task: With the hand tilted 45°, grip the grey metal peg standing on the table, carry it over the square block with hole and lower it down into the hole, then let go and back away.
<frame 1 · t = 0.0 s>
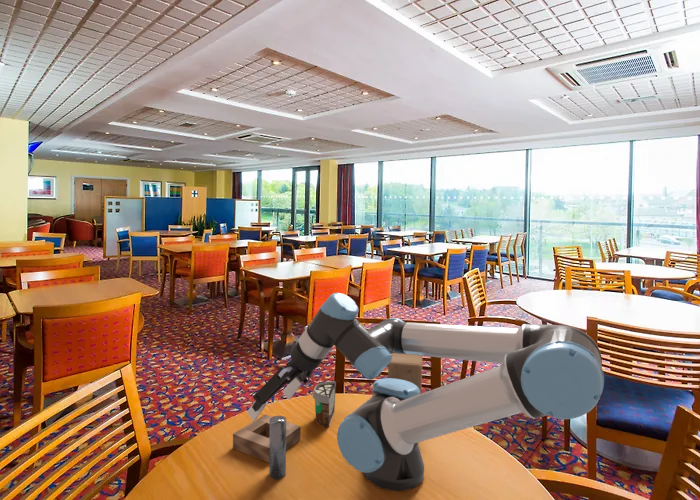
hand: (269, 405, 107), 15 cm above the table, tool tilted 35°, fingers open, 13 cm apart
peg: (277, 474, 104), on the table
wooden block: (403, 420, 132), on the table
food container: (322, 419, 132), on the table
square block with hole: (267, 443, 117), on the table
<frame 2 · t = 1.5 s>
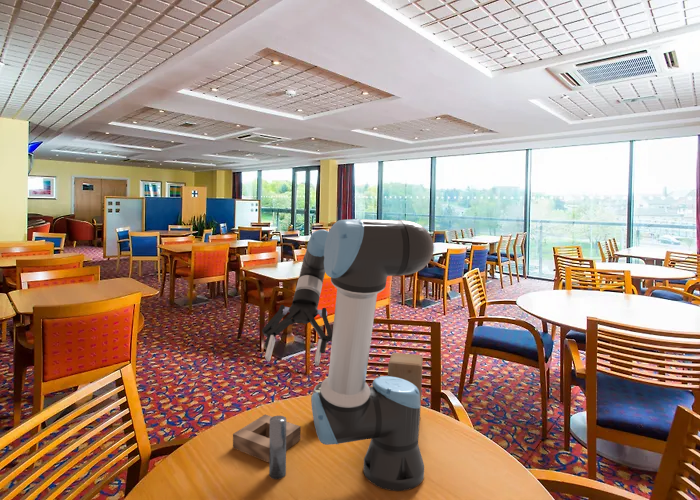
hand: (291, 361, 112), 25 cm above the table, tool tilted 45°, fingers open, 13 cm apart
nothing on the table moved.
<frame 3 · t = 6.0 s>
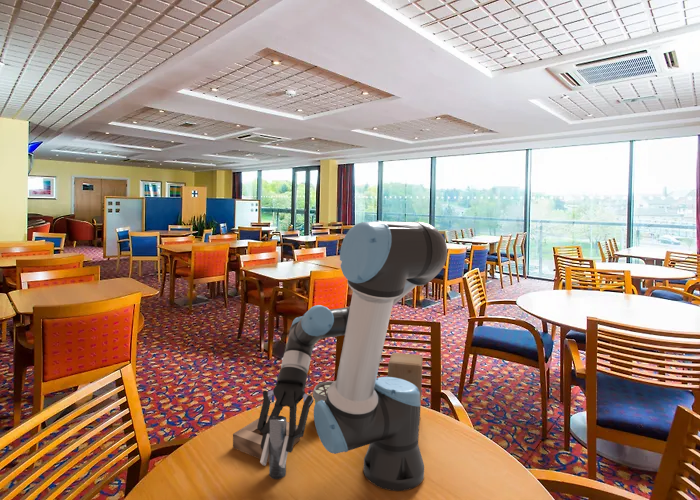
hand: (272, 464, 99), 5 cm above the table, tool tilted 45°, fingers closed on peg, 4 cm apart
peg: (277, 474, 104), on the table, touching gripper
everything else where it was.
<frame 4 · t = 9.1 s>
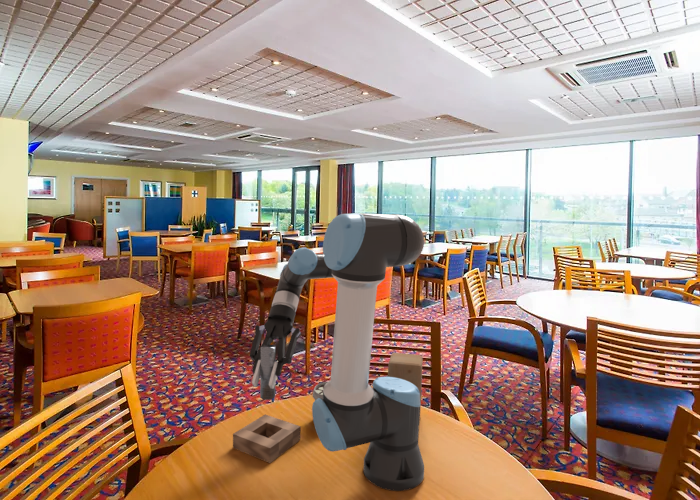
hand: (262, 385, 111), 18 cm above the table, tool tilted 45°, fingers closed on peg, 4 cm apart
peg: (267, 396, 115), point 14 cm above the table, touching gripper
everything else where it was.
when the fingers open (7 cm above the table, at t = 12.1 s): peg drops 2 cm, resting in square block with hole.
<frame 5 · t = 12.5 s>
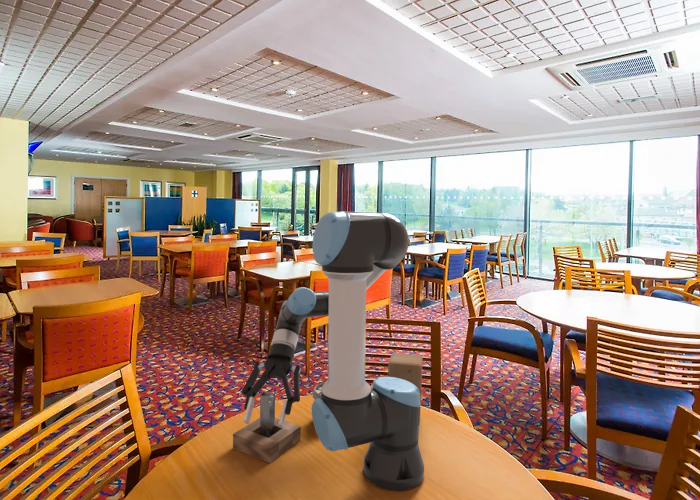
hand: (263, 424, 113), 7 cm above the table, tool tilted 45°, fingers open, 9 cm apart
peg: (267, 443, 117), resting in square block with hole
everything else where it was.
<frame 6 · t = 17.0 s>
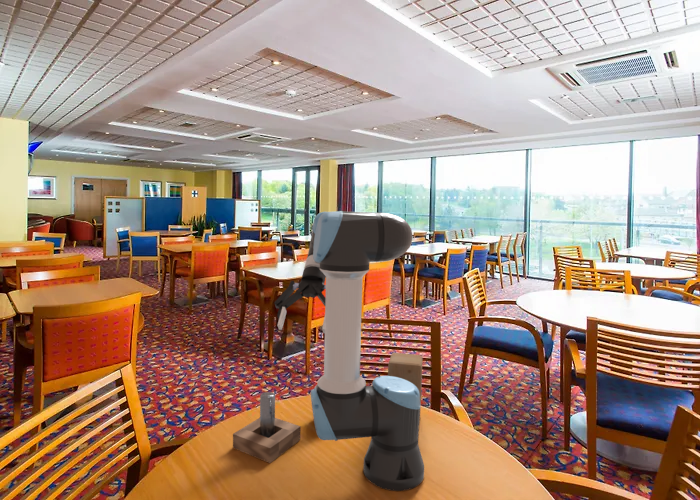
hand: (301, 329, 124), 30 cm above the table, tool tilted 45°, fingers open, 13 cm apart
nothing on the table moved.
at the end: peg 0.0 cm from the square block with hole (horizontally); peg resting in square block with hole; peg tilted 0° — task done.
